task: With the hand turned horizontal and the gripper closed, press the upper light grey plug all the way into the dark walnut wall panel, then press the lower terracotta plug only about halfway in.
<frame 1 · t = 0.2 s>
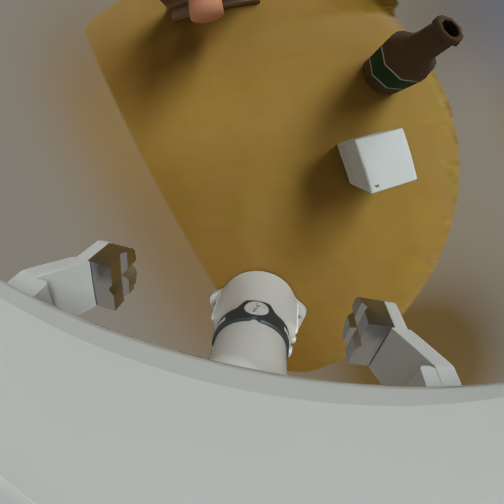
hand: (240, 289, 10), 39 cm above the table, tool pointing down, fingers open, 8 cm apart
beer bottle: (381, 75, 38), on the table
supplement box: (362, 157, 43), on the table
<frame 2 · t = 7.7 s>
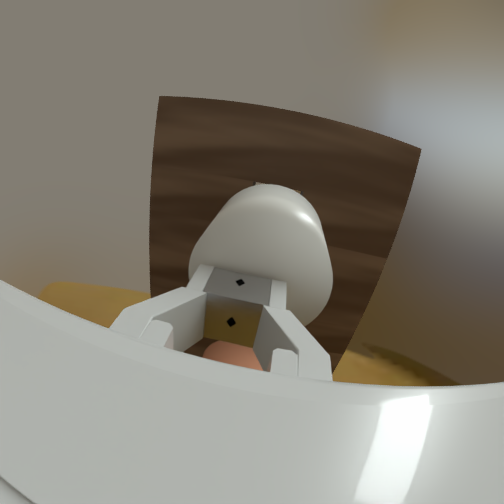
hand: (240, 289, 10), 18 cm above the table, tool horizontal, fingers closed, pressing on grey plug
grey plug: (270, 229, 14), point 18 cm above the table, slide at 0.2 cm, touching gripper
plug panel: (237, 382, 26), on the table
terracotta plug: (243, 355, 18), point 9 cm above the table, slide at 0.0 cm
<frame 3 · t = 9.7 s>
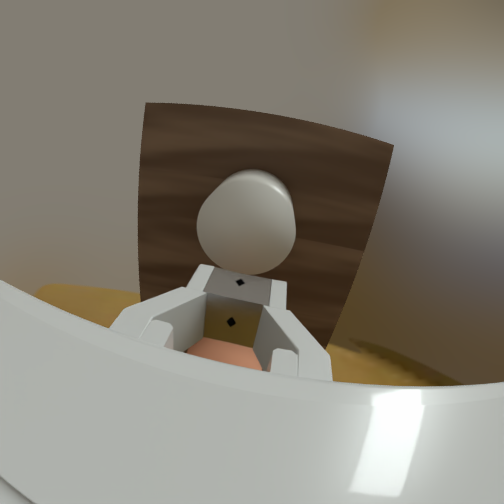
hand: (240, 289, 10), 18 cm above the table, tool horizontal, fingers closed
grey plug: (254, 203, 19), point 18 cm above the table, slide at 4.1 cm
plug panel: (225, 377, 27), on the table
terracotta plug: (227, 346, 19), point 9 cm above the table, slide at 0.0 cm
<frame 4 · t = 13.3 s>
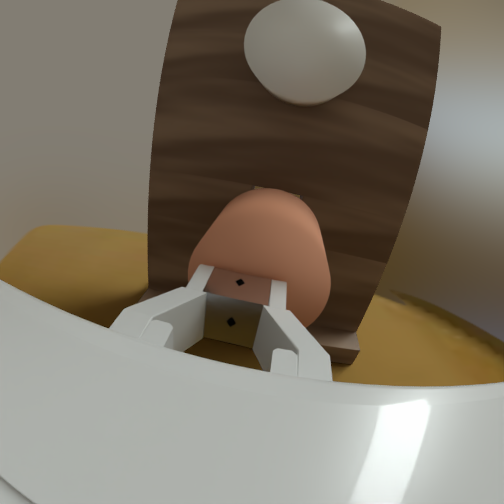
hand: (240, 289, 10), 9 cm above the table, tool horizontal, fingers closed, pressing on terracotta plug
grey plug: (301, 67, 13), point 18 cm above the table, slide at 4.1 cm
plug panel: (250, 319, 22), on the table
terracotta plug: (269, 232, 14), point 9 cm above the table, slide at 0.5 cm, touching gripper
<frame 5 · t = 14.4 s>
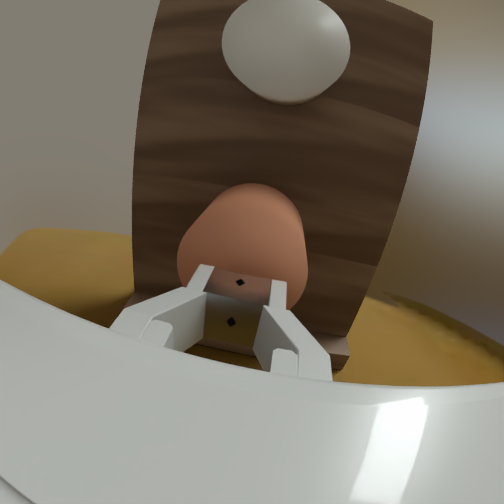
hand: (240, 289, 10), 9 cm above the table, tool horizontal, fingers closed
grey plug: (286, 64, 13), point 18 cm above the table, slide at 4.1 cm
plug panel: (237, 324, 21), on the table
terracotta plug: (254, 225, 15), point 9 cm above the table, slide at 2.0 cm
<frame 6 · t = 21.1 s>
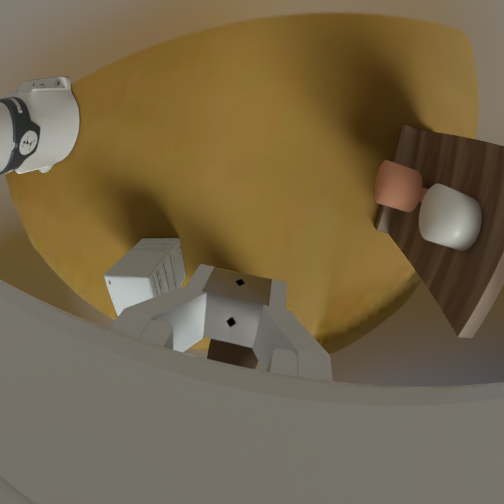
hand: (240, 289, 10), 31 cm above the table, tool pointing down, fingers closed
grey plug: (471, 226, 20), point 18 cm above the table, slide at 4.1 cm
beer bottle: (245, 305, 49), on the table
plug panel: (407, 182, 36), on the table
terracotta plug: (418, 193, 28), point 9 cm above the table, slide at 2.0 cm
supplement box: (165, 256, 47), on the table
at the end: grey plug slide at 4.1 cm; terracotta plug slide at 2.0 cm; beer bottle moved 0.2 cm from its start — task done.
